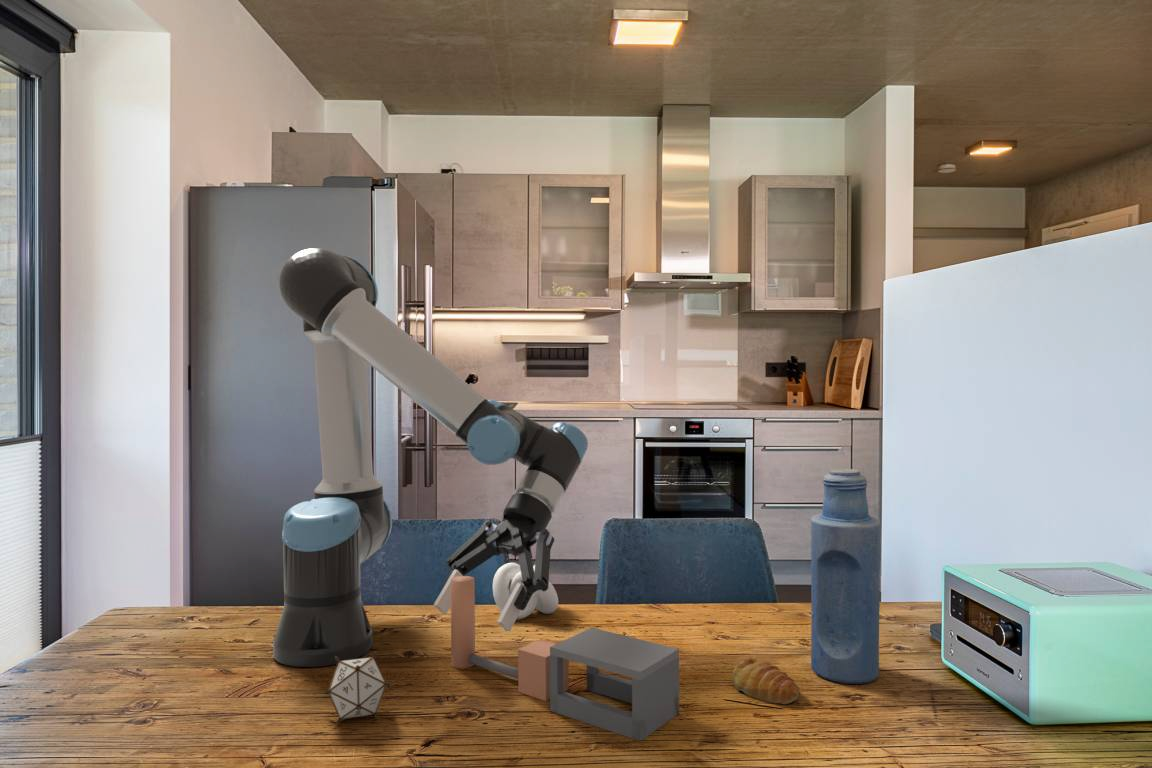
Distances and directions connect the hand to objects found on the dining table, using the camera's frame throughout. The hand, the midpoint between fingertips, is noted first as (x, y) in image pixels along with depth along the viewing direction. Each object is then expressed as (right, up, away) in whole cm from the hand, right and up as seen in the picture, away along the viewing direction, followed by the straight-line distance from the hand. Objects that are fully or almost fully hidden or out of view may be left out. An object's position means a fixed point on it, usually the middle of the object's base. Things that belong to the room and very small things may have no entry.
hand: (470, 618), depth 120 cm
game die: (-12, -8, -18) cm, 23 cm away
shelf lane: (+21, -7, -17) cm, 28 cm away
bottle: (+56, -7, -4) cm, 56 cm away
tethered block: (+5, -7, -5) cm, 10 cm away
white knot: (+7, -6, +25) cm, 27 cm away
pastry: (+42, -8, -10) cm, 44 cm away
